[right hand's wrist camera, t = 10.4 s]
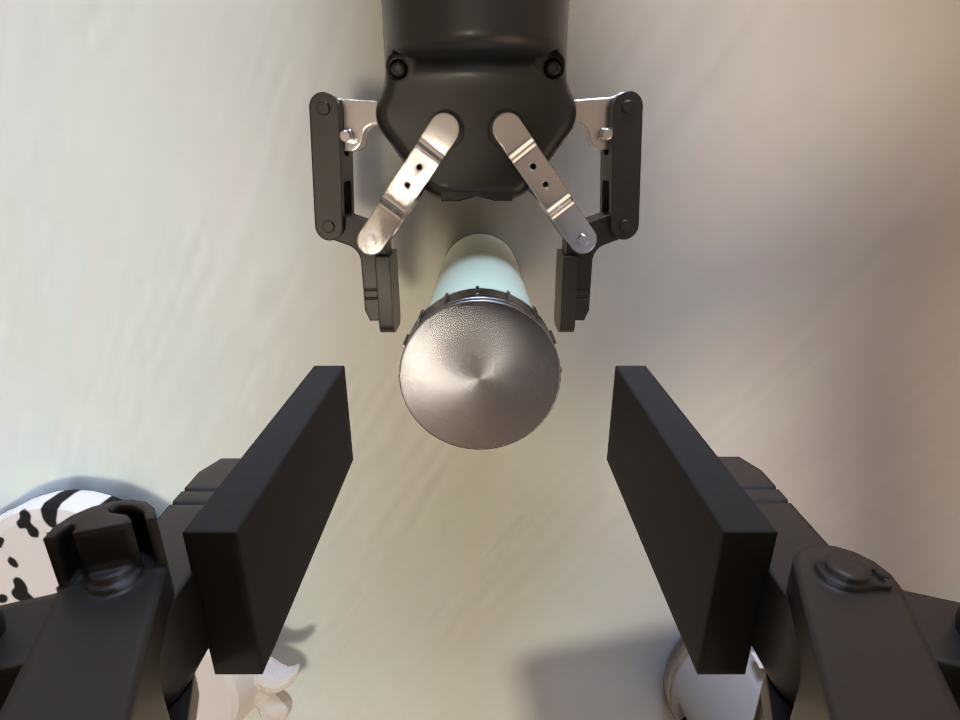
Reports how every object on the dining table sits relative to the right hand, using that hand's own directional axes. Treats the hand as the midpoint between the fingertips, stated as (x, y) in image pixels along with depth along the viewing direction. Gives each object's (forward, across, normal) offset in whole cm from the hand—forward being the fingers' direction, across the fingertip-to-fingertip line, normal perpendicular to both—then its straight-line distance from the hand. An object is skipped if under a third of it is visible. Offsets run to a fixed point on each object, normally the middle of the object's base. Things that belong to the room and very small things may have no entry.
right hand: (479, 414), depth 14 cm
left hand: (+13, 0, -2) cm, 13 cm away
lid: (+3, 0, 0) cm, 3 cm away
